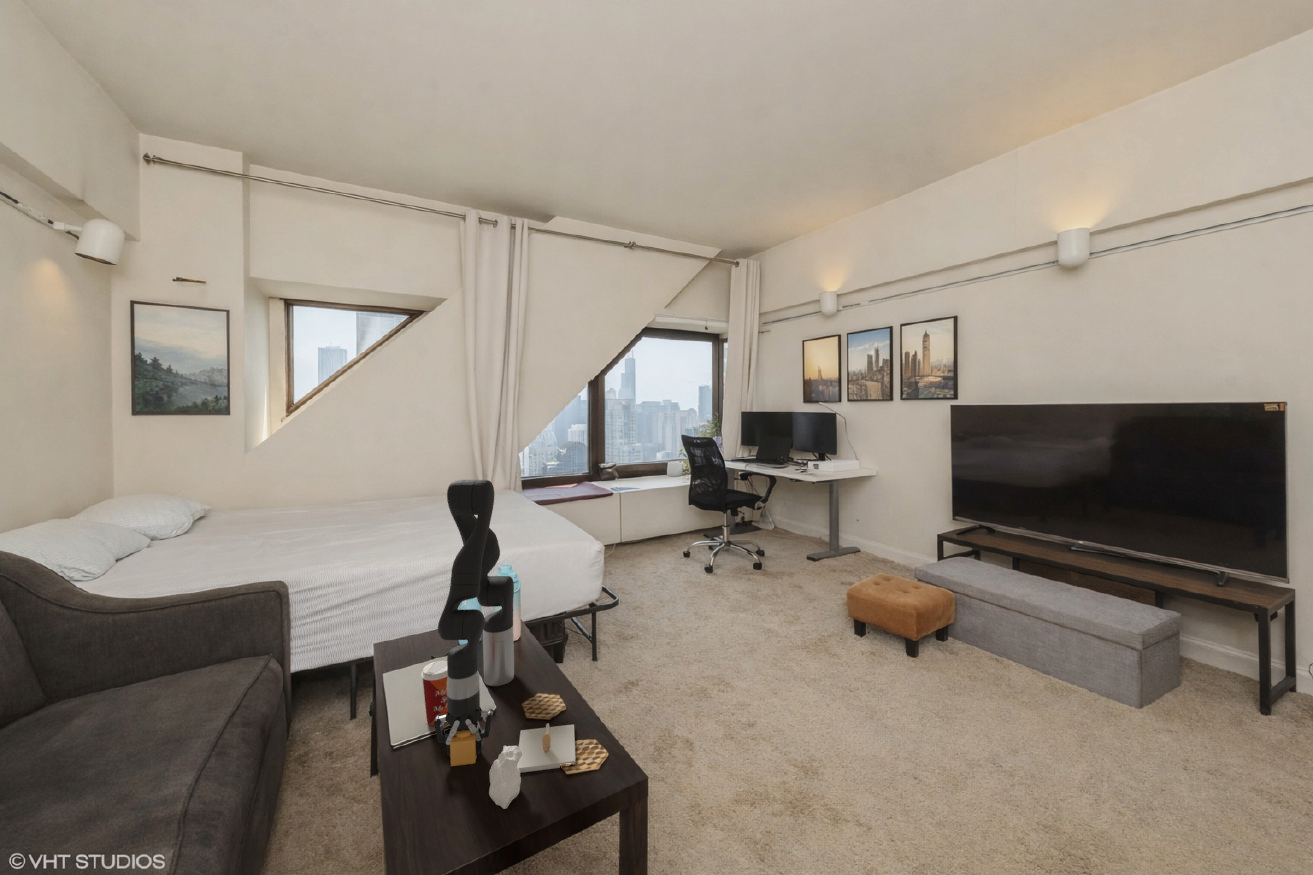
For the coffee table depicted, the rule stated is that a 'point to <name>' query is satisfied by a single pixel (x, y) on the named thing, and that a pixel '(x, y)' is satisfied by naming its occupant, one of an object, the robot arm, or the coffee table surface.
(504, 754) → the bust
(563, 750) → the plate
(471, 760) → the domed orange cube
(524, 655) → the coffee table surface
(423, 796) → the coffee table surface
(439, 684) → the coffee cup
